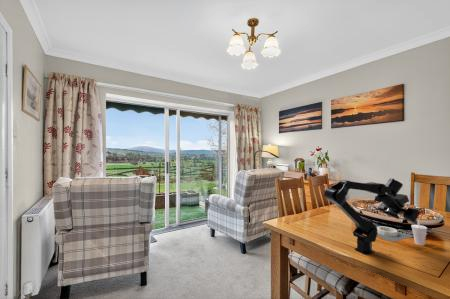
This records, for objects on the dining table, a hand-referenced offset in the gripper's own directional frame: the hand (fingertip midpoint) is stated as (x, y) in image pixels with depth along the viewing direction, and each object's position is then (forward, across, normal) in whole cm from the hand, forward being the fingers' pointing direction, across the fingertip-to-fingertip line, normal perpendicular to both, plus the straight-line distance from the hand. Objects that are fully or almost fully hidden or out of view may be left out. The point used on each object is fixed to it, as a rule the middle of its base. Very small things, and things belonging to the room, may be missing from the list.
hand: (407, 220), depth 112 cm
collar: (+12, +16, +6) cm, 21 cm away
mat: (+12, +16, +6) cm, 21 cm away
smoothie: (+15, 0, +4) cm, 15 cm away
